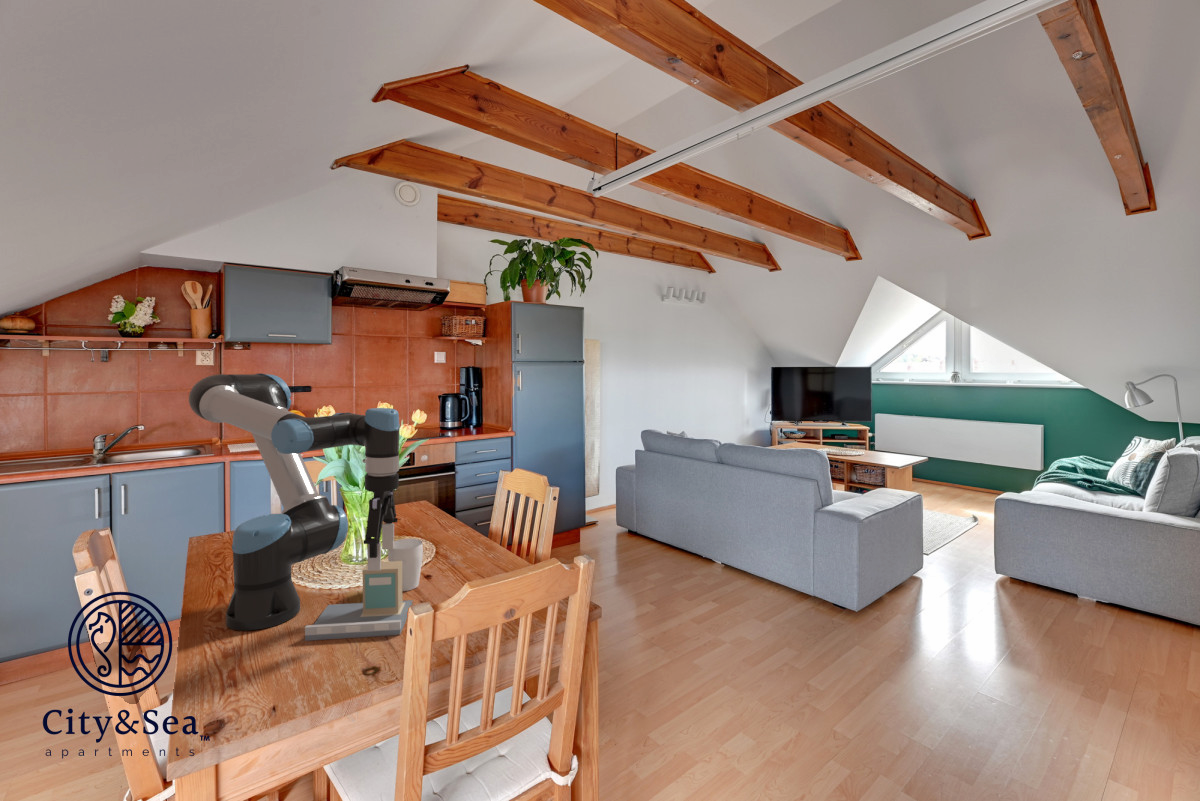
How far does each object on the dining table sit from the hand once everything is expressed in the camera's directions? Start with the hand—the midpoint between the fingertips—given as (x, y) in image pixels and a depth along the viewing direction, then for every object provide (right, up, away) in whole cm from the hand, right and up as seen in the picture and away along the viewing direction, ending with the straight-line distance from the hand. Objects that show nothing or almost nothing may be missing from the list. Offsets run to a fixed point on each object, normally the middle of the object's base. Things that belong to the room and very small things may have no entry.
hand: (381, 558), depth 128 cm
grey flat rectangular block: (-3, -14, -3) cm, 15 cm away
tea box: (0, -13, +1) cm, 13 cm away
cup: (0, -13, +17) cm, 21 cm away
